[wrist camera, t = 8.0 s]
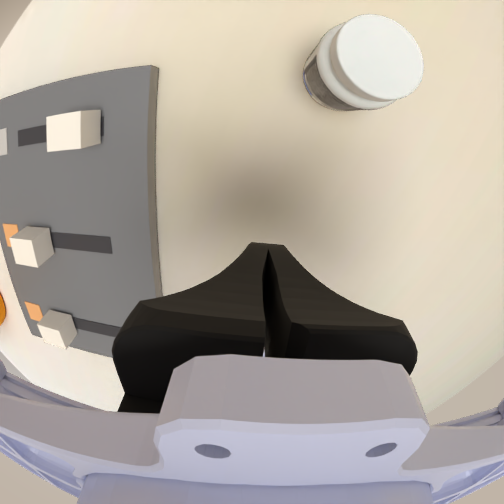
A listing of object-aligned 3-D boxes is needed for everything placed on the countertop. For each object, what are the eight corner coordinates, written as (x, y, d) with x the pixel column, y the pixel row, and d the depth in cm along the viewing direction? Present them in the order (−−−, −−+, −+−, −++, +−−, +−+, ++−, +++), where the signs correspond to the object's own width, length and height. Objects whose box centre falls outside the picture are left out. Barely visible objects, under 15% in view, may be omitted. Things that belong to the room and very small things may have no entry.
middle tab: (54, 253, 21) (37, 267, 19) (32, 250, 21) (15, 263, 19) (49, 227, 20) (31, 240, 18) (26, 226, 20) (9, 237, 18)
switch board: (170, 358, 28) (166, 369, 26) (38, 327, 28) (31, 335, 27) (158, 68, 16) (150, 65, 15) (-4, 103, 17) (-15, 105, 15)
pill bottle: (364, 118, 17) (424, 124, 10) (297, 102, 17) (319, 92, 10) (374, 56, 15) (435, 30, 8) (307, 38, 15) (333, -8, 8)
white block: (77, 333, 25) (66, 349, 23) (55, 327, 25) (44, 342, 23) (71, 315, 24) (58, 330, 22) (49, 309, 24) (36, 324, 22)
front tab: (100, 143, 17) (80, 148, 15) (67, 146, 17) (47, 151, 15) (100, 109, 16) (80, 110, 14) (67, 114, 16) (46, 117, 14)
